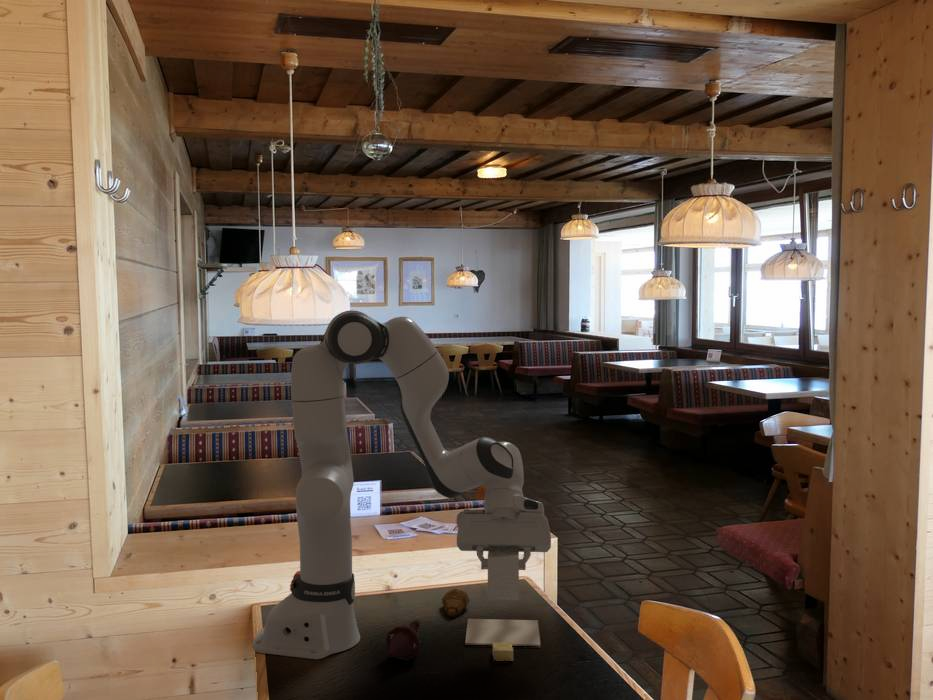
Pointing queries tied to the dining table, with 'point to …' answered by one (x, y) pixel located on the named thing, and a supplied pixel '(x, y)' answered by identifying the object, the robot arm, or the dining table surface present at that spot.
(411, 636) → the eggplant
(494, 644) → the block
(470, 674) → the dining table surface
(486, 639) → the board
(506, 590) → the cover
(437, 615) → the dining table surface
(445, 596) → the croissant
